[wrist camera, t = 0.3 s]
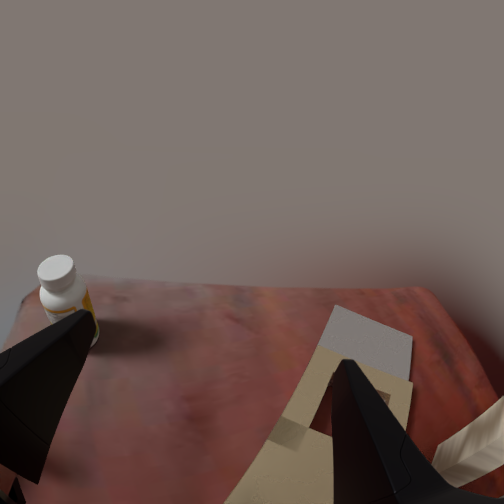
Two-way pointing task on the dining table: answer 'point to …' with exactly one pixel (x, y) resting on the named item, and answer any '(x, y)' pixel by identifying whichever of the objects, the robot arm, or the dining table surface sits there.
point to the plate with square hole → (307, 402)
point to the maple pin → (473, 448)
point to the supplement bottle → (63, 290)
